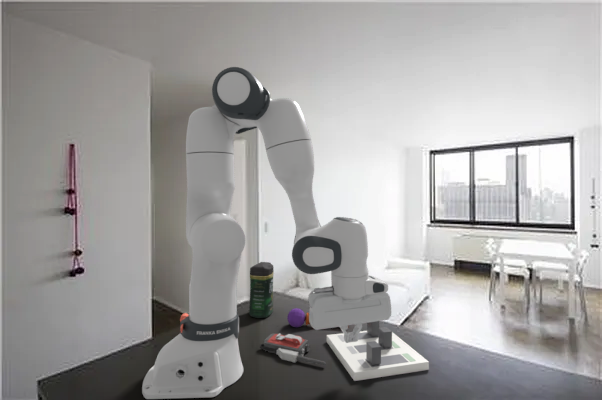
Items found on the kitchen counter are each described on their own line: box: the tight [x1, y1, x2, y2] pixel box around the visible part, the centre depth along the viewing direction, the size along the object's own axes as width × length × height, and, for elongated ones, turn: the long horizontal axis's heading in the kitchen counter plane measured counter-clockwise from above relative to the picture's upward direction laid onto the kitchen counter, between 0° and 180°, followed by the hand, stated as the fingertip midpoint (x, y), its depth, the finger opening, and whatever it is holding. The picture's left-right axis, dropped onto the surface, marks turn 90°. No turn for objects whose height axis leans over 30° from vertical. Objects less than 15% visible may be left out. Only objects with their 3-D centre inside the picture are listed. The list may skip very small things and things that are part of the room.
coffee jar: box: [248, 261, 275, 319], centre depth 113 cm, size 10×8×19 cm
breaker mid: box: [378, 326, 393, 348], centre depth 86 cm, size 2×3×4 cm
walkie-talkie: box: [259, 332, 327, 366], centre depth 85 cm, size 9×4×20 cm
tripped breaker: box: [366, 341, 381, 365], centre depth 77 cm, size 2×3×4 cm
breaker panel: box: [326, 330, 430, 382], centre depth 85 cm, size 20×20×2 cm
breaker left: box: [366, 321, 380, 336], centre depth 93 cm, size 2×3×4 cm
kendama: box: [286, 307, 311, 328], centre depth 103 cm, size 6×6×20 cm
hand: (351, 341), depth 75 cm, fingers closed
